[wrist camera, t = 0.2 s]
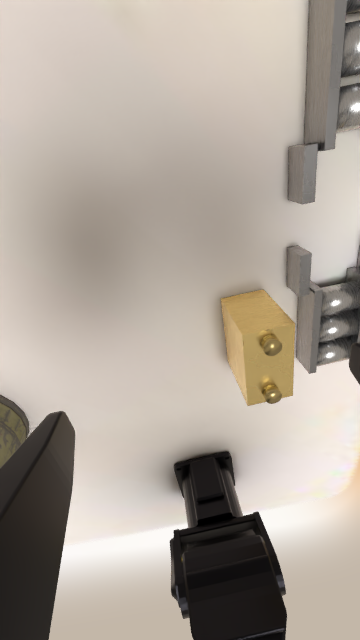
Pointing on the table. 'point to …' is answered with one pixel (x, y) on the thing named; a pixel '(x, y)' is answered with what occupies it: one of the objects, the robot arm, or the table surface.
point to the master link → (259, 346)
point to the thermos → (11, 429)
